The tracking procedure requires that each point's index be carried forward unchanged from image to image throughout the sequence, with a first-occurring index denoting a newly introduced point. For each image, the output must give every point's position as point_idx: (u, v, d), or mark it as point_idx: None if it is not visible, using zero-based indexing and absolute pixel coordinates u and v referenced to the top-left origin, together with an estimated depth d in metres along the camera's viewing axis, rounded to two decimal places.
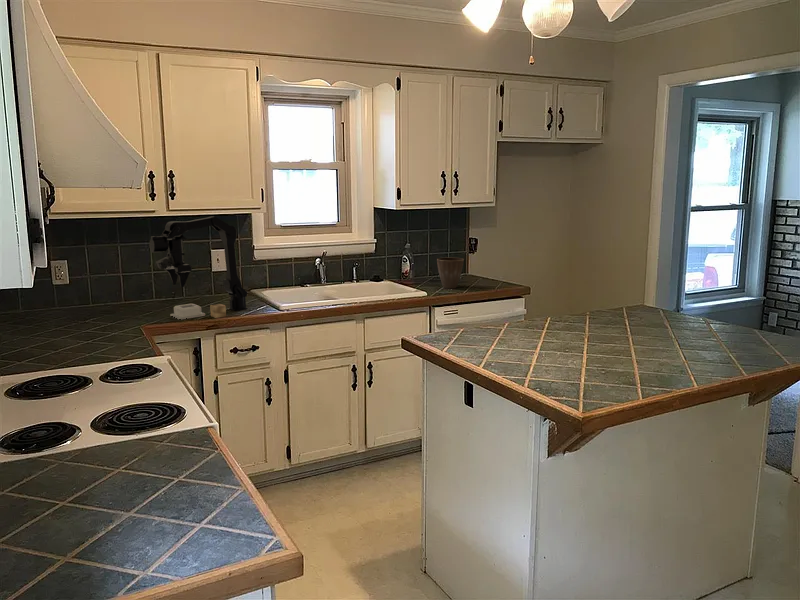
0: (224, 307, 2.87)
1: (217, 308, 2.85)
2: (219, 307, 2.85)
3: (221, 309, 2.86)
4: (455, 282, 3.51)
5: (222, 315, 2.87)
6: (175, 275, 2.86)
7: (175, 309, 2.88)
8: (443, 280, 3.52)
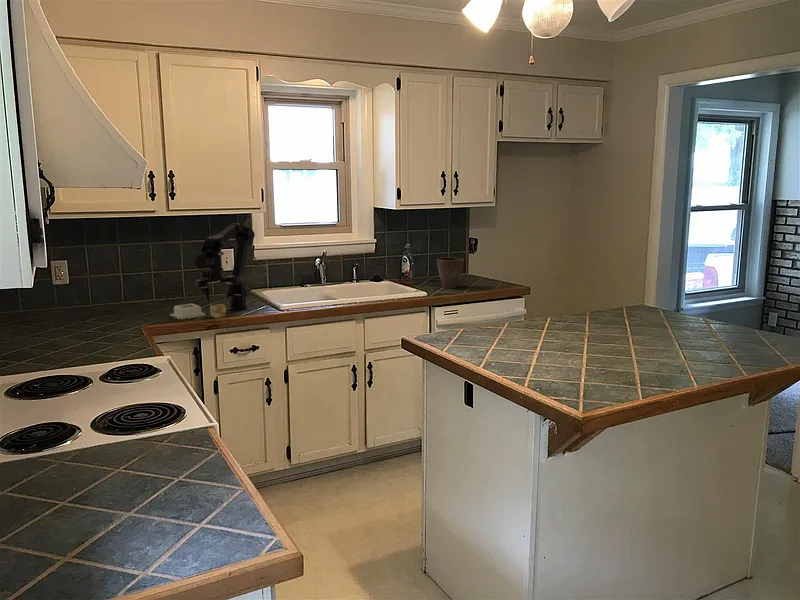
0: (224, 307, 2.87)
1: (217, 308, 2.85)
2: (219, 307, 2.85)
3: (221, 309, 2.86)
4: (455, 282, 3.51)
5: (222, 315, 2.87)
6: (227, 290, 2.89)
7: (175, 309, 2.88)
8: (443, 280, 3.52)
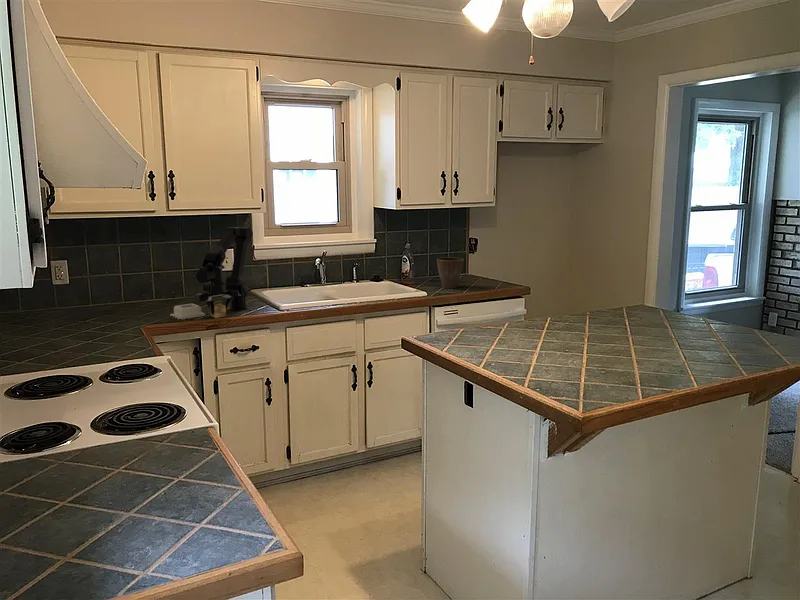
0: (224, 307, 2.87)
1: (217, 308, 2.85)
2: (219, 307, 2.85)
3: (221, 309, 2.86)
4: (455, 282, 3.51)
5: (222, 315, 2.87)
6: (224, 304, 2.89)
7: (175, 309, 2.88)
8: (443, 280, 3.52)
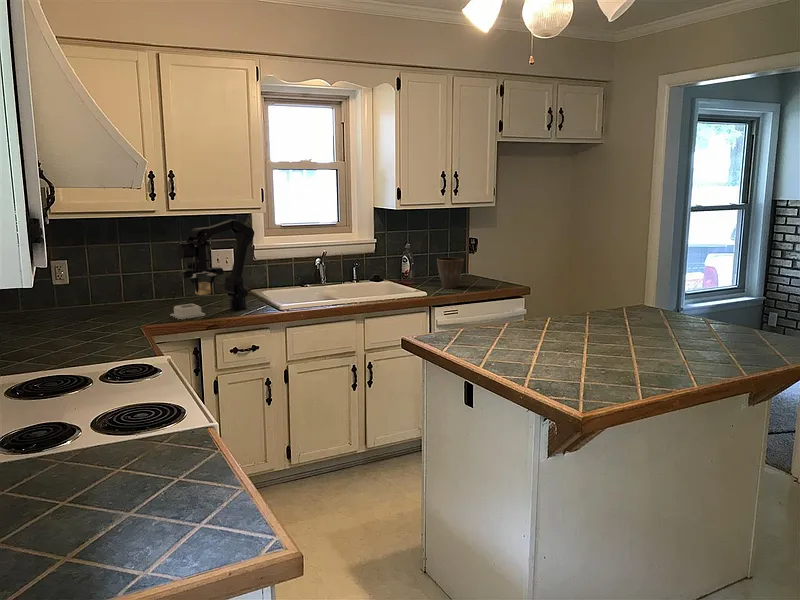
0: (209, 284, 2.85)
1: (202, 285, 2.83)
2: (204, 284, 2.84)
3: (206, 286, 2.84)
4: (455, 282, 3.51)
5: (207, 293, 2.85)
6: (209, 282, 2.87)
7: (175, 309, 2.88)
8: (443, 280, 3.52)
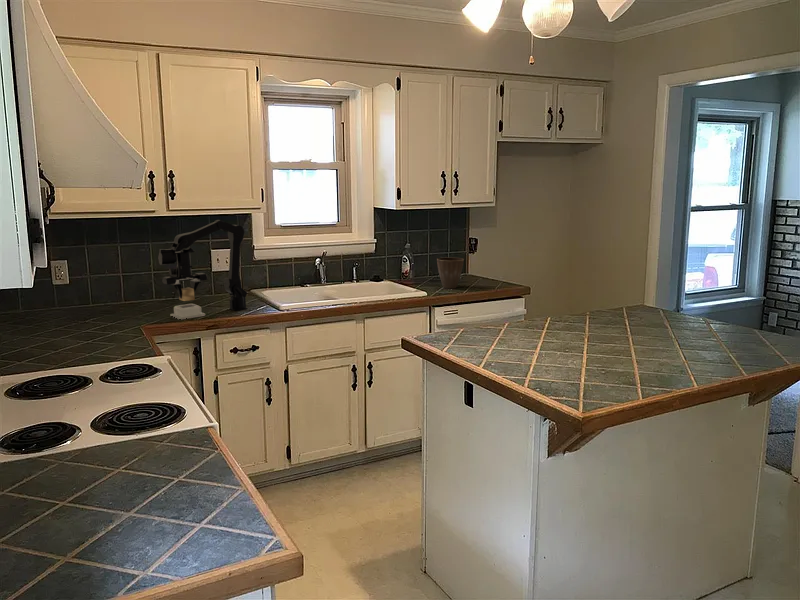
0: (192, 290, 2.87)
1: (185, 291, 2.84)
2: (187, 290, 2.85)
3: (189, 292, 2.86)
4: (455, 282, 3.51)
5: (191, 299, 2.87)
6: None
7: (175, 309, 2.88)
8: (443, 280, 3.52)
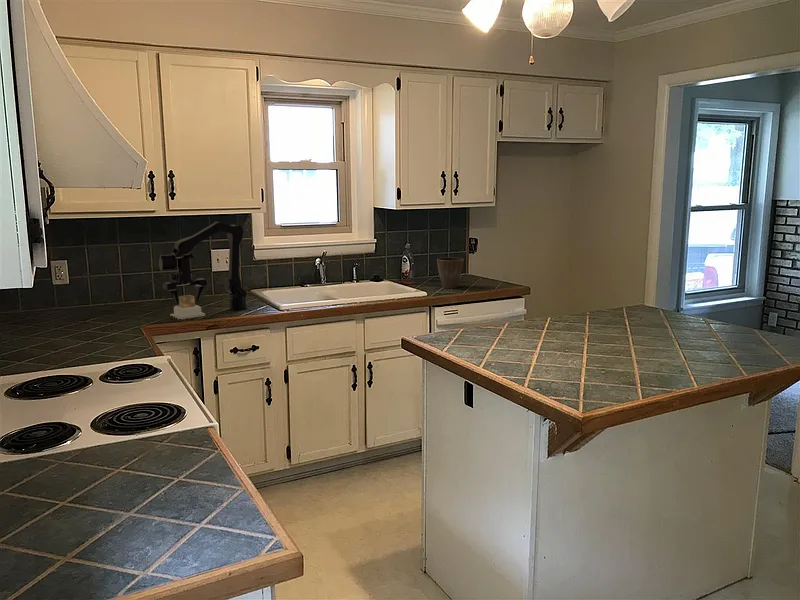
0: (193, 298, 2.87)
1: (185, 299, 2.85)
2: (188, 298, 2.86)
3: (190, 300, 2.86)
4: (455, 282, 3.51)
5: (191, 306, 2.87)
6: (197, 293, 2.90)
7: (175, 309, 2.88)
8: (443, 280, 3.52)
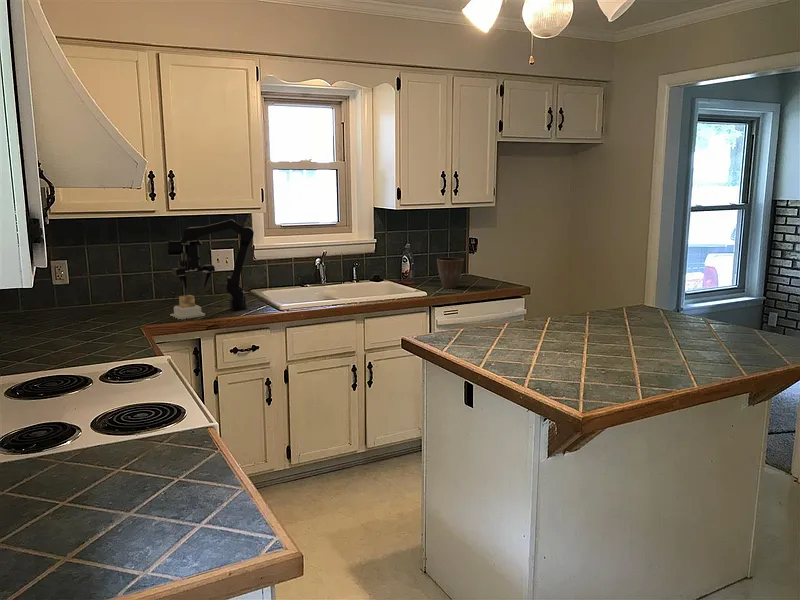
0: (193, 298, 2.87)
1: (185, 299, 2.85)
2: (188, 298, 2.86)
3: (190, 300, 2.86)
4: (455, 282, 3.51)
5: (191, 306, 2.87)
6: (204, 278, 2.99)
7: (175, 309, 2.88)
8: (443, 280, 3.52)
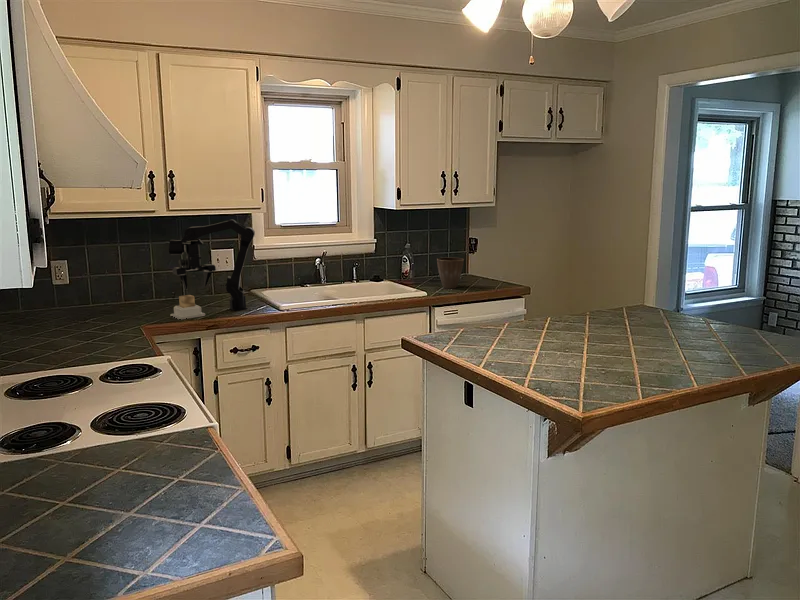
0: (193, 298, 2.87)
1: (185, 299, 2.85)
2: (188, 298, 2.86)
3: (190, 300, 2.86)
4: (455, 282, 3.51)
5: (191, 306, 2.87)
6: (205, 278, 3.00)
7: (175, 309, 2.88)
8: (443, 280, 3.52)
